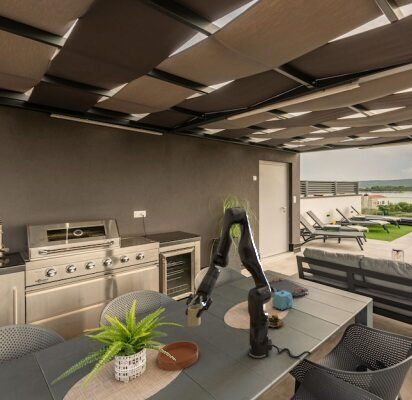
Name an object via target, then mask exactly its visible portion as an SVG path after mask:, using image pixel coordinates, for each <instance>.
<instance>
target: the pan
mask: <svg viewBox="0 0 412 400" xmlns="http://www.w3.org/2000/svg"><path fill="white" fill-rule="evenodd" d="M161 349H163V350H164V351H166V352H168V353H169V354H170V355H171V356H173V357H174V358H175V359H176V361H175V360H173V359H172V358H170V357H169V356H167V355H166V354H164V353H162V352H160V350H159V351H158V353H157V364H158V366H159V367H160V369H163V370H166V371H180V370H183V369H187V368H190V367H191V366H192V365H194V364H195V363H196V362H197V361H198V359H199V355H200V348H199V345H198V344H197V343H195V342H194V341H191V340H178V341H173V342H171V343H168V344H166V345H164V346H163V347H161Z"/></svg>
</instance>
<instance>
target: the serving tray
mask: <svg viewBox="0 0 412 400" xmlns="http://www.w3.org/2000/svg"><path fill="white" fill-rule="evenodd" d="M267 282H268V284H269V286H270V289H273V288H275V289H276V291H277V292H280V291H287V292H289V293H291V295H292V297H295V296H300V295H305V294H306V293H307V292H308V293H309V292H310V289H308V288H305V287H304V286H301V285H299V284H296V283H294V282H293V281H289V280H288V279H282V278H280V277H274V278H272V279H271V280H270V281H267Z"/></svg>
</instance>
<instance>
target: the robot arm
mask: <svg viewBox="0 0 412 400" xmlns="http://www.w3.org/2000/svg"><path fill="white" fill-rule="evenodd" d="M237 225H238V226H239V230H240V237H239V241H238V247H237V253H238V256H239V259H240V262H241V265H242V266H243V267H244V268H245V270H246V271H247V272H248V273H249V274H250V275H251V277H252V280H253V282H254V287H252V288H250V289H249V291H248V293H247V312H248V316H249V334H248V335H249V336H248V337H249V339H248V340H249V341H248V344H247V345H248V355H249V357H251V358H252V359H253V358H254V359H263V358H266V357H269V352H270V351H271V352H272V351H273V348H275V349H276V350H277V353H278V354H282V353H283V352H284V351H287V352H288V355H289V357H290V358H292V359H298V358H300V357H302V356H303V355H305V354H309V355H311V354H312V353H311V351H308V350H304V351H303V352H302V353H300V354H298V355H292V353H291V351H290V349H289V348H286V347H284V348H282V349H281V350H280V348H279V347H278V346H277V345H275V344H273V341H272V338H269V326H268V318H269V312H268V311H267V310H265V309H264V305H266V304H267V303H269V302H270V301H271V300H272V298H273V295H272V290H271V289H272V288H270V286H269V284H268V282H269V281H268V279H267V277H266V275H265V273H264V270H263V266H262V263H261V261H260V257H259V253H258V250H257V247H256V245H255V242H254V238H253V235H252V230H251V226H250V222H249V216H248V214H247V211H246V209H245V208H244V207H243V206H233V207H228V208H226V209H225V211H224V213H223V217H222V226H221V234H220V240H219V242H218V245H217V249H216V250H217V251H215V252H213V253H212V255H211V257H210V261H209V262H210V263H209V266H208V269H207V271H206V273H205V274H204V275H203V276H204V277H202V280H201V281H200V283H199V286H198V287H197V289H196V293H195V294H193V293H190V294H189V296H188V298H187V300H186V302H185V305H186V306H187V307H186V310H185V313H184V314H185V315H186V316H188V307H189V306H192V305H199V306H200V309H199V311H198V313H197V315H196V317H197V318H199V317H200V316H201V317H202V314H203V312H204V311H208V310H209V308H210V307H211V305H212V303H213V301H214V300H213V299H212V298H211V295H212V293H213V290H214V288H215V286H216V284H217V281H218V279H219V277H220V274H221V270H220V269H219V268H218V267H220V268H222V269H225V268H227V267H228V266H229V263H230V251H231V248H232V246H233V236H232V234H231V229H232V227H233V226H237ZM216 266H218V267H216Z"/></svg>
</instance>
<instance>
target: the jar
mask: <svg viewBox="0 0 412 400" xmlns="http://www.w3.org/2000/svg"><path fill="white" fill-rule="evenodd" d="M187 308H188V315H187V326H188V327H190V328H196V327H199V326H200V325H201V322H202V321H201V319H202V318H201V317H202V315H201V316H200V317H199V318H197V317H196V315H197V313H198V311H199V309H200V304H196V305H192V306H189V307H188V306H187Z"/></svg>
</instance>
